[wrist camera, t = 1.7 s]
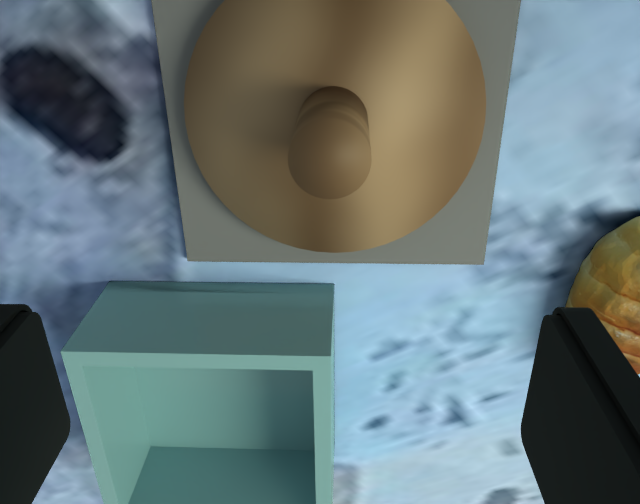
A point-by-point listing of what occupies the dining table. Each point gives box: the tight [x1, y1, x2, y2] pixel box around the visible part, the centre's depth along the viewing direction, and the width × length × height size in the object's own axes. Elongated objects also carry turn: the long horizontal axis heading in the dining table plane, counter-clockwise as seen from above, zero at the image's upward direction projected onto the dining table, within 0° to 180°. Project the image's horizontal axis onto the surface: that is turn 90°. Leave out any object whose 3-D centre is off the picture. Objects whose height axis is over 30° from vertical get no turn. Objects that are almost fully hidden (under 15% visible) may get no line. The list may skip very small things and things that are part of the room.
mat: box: [151, 0, 521, 265], centre depth 26 cm, size 15×15×1 cm
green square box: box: [61, 281, 334, 504], centre depth 31 cm, size 12×12×6 cm
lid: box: [184, 0, 486, 253], centre depth 23 cm, size 13×13×6 cm
